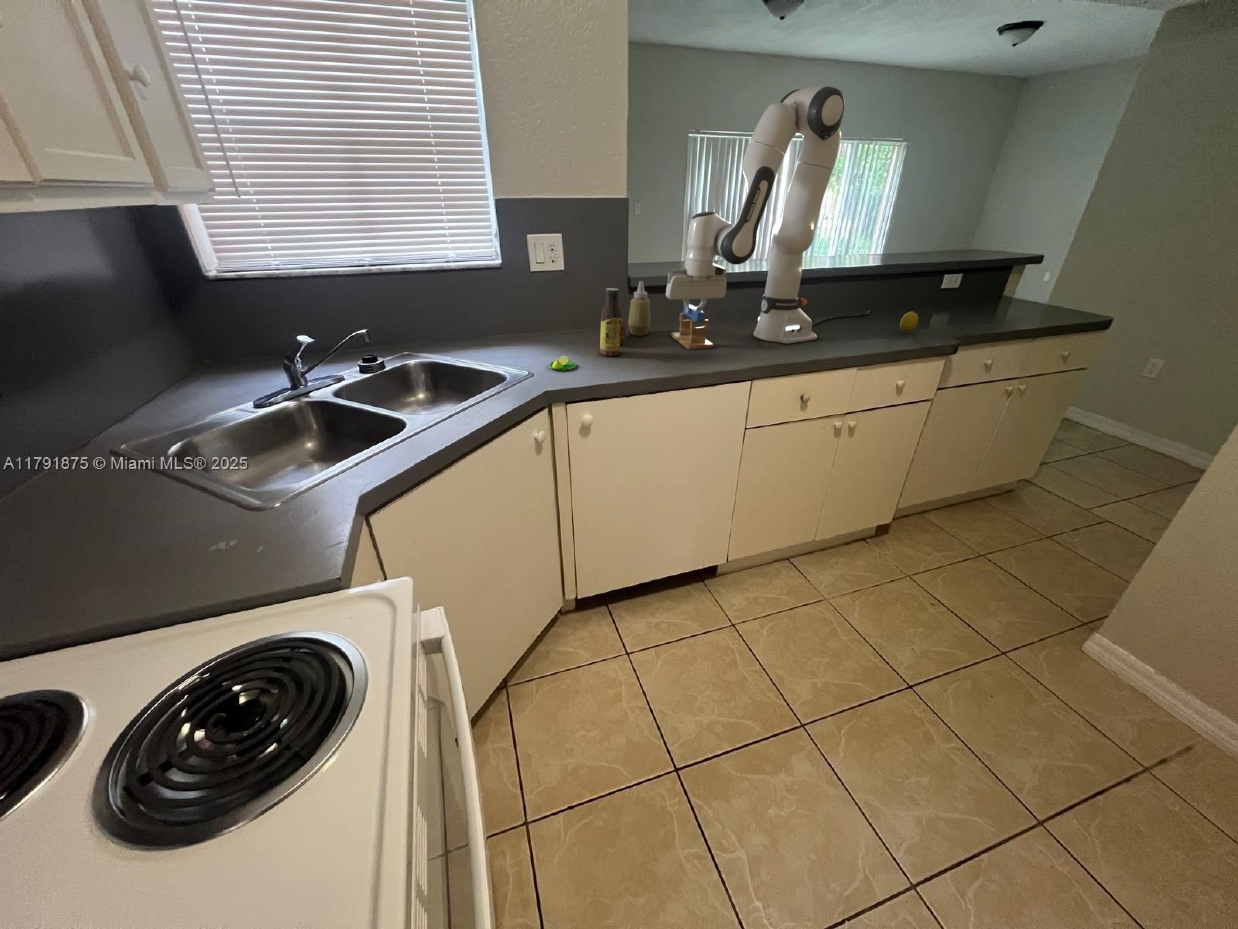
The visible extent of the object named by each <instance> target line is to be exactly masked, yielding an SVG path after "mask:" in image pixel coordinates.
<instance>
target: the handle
mask: <svg viewBox="0 0 1238 929" xmlns="http://www.w3.org/2000/svg"><path fill="white" fill-rule="evenodd" d="M688 305H689V306H690V307H692V310H691V313H686V312H685V310H686V307H685V304H684V303H683V308H682V313H683V314H684V316H686V317H688V318H689V319H690V320H692V319H693V320H694V321H695V323H704V320H705V316H706V312H705V311H703V310H702V311H701V310H700V309H698V308H697V306H695V305H693V304H692V303H688Z"/></svg>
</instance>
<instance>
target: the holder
mask: <svg viewBox="0 0 1238 929" xmlns="http://www.w3.org/2000/svg"><path fill="white" fill-rule="evenodd" d="M678 320H679V331H677V332H670V333H671V335H670V336H671V337H672V338H673V339H674V340H675V341H677V342H678V343H680V344H681V346H683V347H684V348H685V349H687V350H702V349H714V344H715V343H713V342H711V341H709V340H708V339H707V338H706V337H707V331H708V329H709V322H710V320H709V319H704V322H703V325H702V326H696V321H694V320H693V319H685V314H684V313H683V312H680V313H679V318H678Z"/></svg>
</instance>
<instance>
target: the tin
mask: <svg viewBox="0 0 1238 929" xmlns="http://www.w3.org/2000/svg"><path fill="white" fill-rule="evenodd" d="M626 328H627V327H626V323H625V321H624V320H623V319H622V318H621V330H620V345H623V344H624V343H625V341H626Z"/></svg>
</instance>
